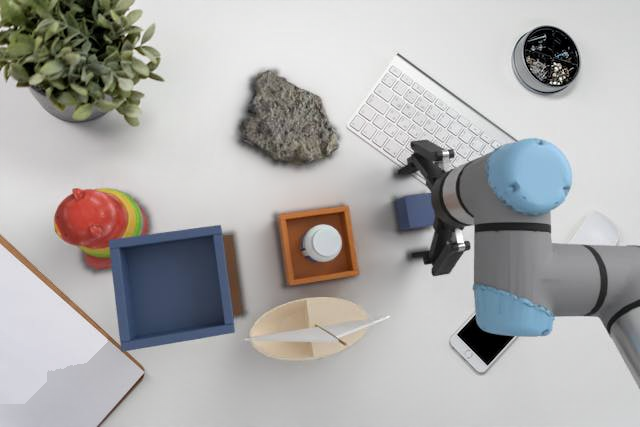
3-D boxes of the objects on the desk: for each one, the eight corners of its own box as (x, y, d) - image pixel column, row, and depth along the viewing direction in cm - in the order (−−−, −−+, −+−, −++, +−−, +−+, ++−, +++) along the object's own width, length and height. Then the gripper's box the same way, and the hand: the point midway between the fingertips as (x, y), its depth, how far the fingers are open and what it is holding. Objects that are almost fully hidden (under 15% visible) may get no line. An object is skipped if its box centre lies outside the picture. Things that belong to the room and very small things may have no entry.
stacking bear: (67, 204, 77) (19, 184, 60) (136, 182, 79) (109, 157, 62) (90, 273, 77) (49, 274, 59) (159, 250, 79) (138, 244, 61)
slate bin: (243, 313, 80) (250, 344, 46) (161, 327, 78) (108, 369, 44) (232, 235, 81) (232, 209, 47) (151, 246, 79) (91, 228, 45)
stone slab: (316, 185, 84) (319, 182, 81) (223, 131, 82) (223, 126, 79) (352, 120, 86) (357, 115, 83) (262, 67, 85) (264, 59, 82)
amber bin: (353, 274, 83) (359, 274, 79) (286, 285, 81) (289, 285, 77) (343, 208, 84) (348, 205, 80) (277, 217, 82) (279, 214, 78)
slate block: (428, 226, 86) (440, 223, 81) (399, 230, 85) (409, 228, 80) (423, 196, 87) (435, 191, 82) (394, 200, 86) (404, 196, 81)
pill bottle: (339, 250, 83) (353, 247, 73) (311, 269, 82) (322, 269, 72) (320, 221, 83) (332, 214, 73) (292, 240, 82) (300, 236, 72)
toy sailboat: (253, 406, 55) (243, 320, 55) (247, 364, 79) (240, 305, 80) (442, 372, 58) (430, 292, 59) (380, 342, 83) (372, 286, 84)
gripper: (515, 290, 65) (446, 285, 85) (480, 93, 66) (421, 135, 87) (458, 300, 63) (402, 292, 84) (424, 99, 65) (378, 140, 86)
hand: (412, 212), depth 86 cm, fingers open, 13 cm apart
